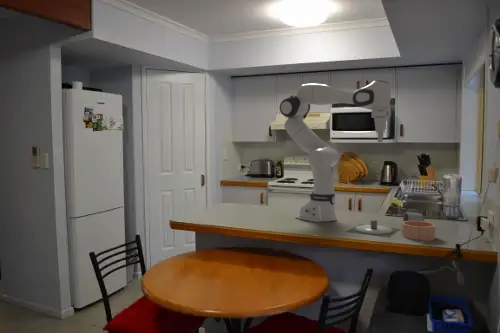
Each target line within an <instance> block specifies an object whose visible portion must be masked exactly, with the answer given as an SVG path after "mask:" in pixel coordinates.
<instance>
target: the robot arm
mask: <svg viewBox="0 0 500 333" xmlns="http://www.w3.org/2000/svg"><path fill="white" fill-rule="evenodd" d="M391 92H392V90H391V84H390V83H389V82H388V81H385V80H381V79H380V80H373V81H372V82H371V83H370V84H368V85H366V86H365V87H364V86H363V87H361V88H358V89H356V90H355V91H345V90H341V89H339V88H336V87H334V86H330V85H327V84H323V83H305V84H301V85H300V86H299V87H298V89H297V94H296V95H294V94H292V95H291V96H288V97H286V98H285V99H283V100H281V102H280V105H279V111H280V113H281V115H282V116H284V117H286V118H287V119H286V121H285V122H284V129H285V131H286V133H287V134H288V135H289V137H290V138H291V139H292V140H293V141H294V142H295V144H297V145H298V147H299V148H300V149H301V151H304V152H306V153H307V154H308V156H307V157H308V158H307V160H308V164H309V165H310V167H311V173H312V178H313V193H310V194H309V196H308V197H309V198H310V199H309V200H308V201H307V202H305V203H304V204H302V205H301V206H300V209H299V214H296V215H295V219H298V220H299V219H300V220H304V221H309V222H315V223H321V222H332V221H334V222H335V221H336V220H338V219H337V215H336V209H335V208H336V207H335V203H336V196H335V195H336V194H335V178H334V177H333V172H332V168H333V167H334V166H336V165H337V164H338V162H339V161H340V160H339V159H340V155H339V152H338V151H337V150H336V149H334V148H333V147H331V145H329V144H328V143H327V142H326V141H324V140H323V139H322V138H321V137H319V136H318V135H317V134H316V133H315V132H314V131H313V130H312V129H311V128H310V127H309V126H308V125H307V123H305V122H304V120H305V119H306V117H307V115H308V114H309V113H310V111H311V105H314V106H315V105H318V106H321V105H324V106H325V105H326V106H327V105H334V104H348V105H355V106H356V107H357V108H360V109H361V108H363V109H367V110H371V118H372V119H373V118H374V119H373V121H374V128H375V133H377V143H383V141H384V139H383V138H384V133H386V122H387V121H388V118H391V112H392V111H391V109H392V108H391V99H392V93H391Z"/></svg>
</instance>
